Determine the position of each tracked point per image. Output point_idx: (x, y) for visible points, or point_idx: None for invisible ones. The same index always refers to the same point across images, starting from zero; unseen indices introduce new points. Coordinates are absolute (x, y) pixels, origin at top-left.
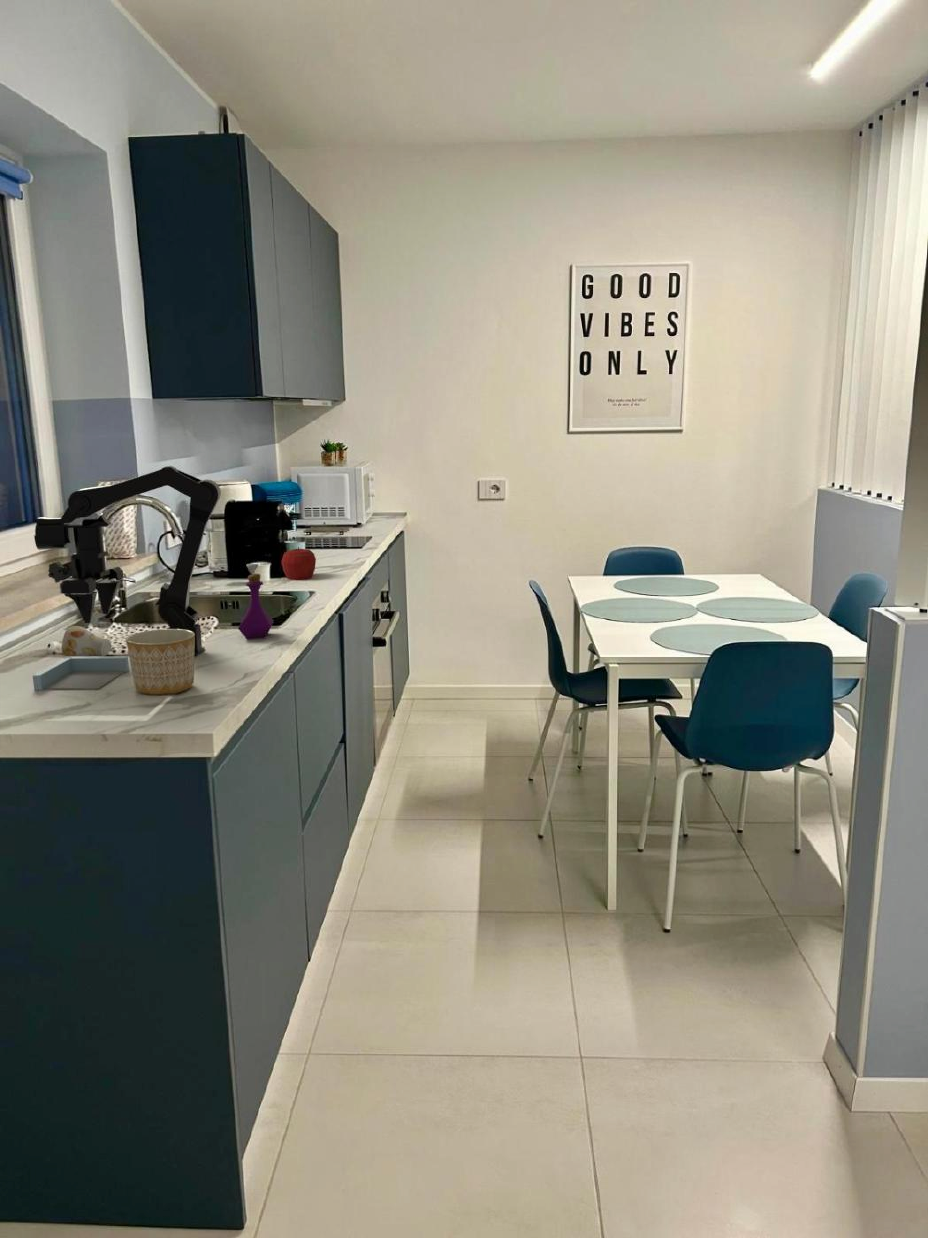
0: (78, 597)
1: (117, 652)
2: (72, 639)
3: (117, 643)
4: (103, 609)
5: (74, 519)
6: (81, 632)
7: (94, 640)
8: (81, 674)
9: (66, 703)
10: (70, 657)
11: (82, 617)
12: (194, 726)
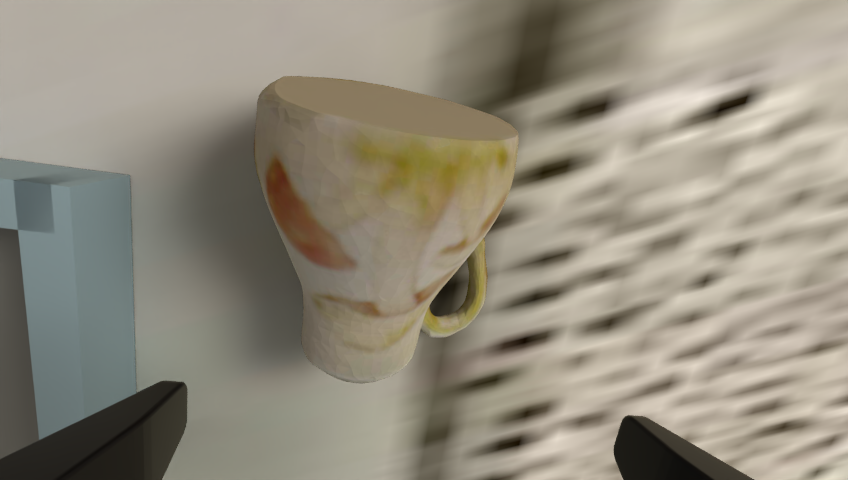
0: None
1: (509, 318)
2: (259, 178)
3: (710, 264)
4: (651, 459)
5: None
6: (322, 247)
7: (318, 318)
8: (7, 287)
9: None
10: (44, 220)
11: (91, 416)
12: None
